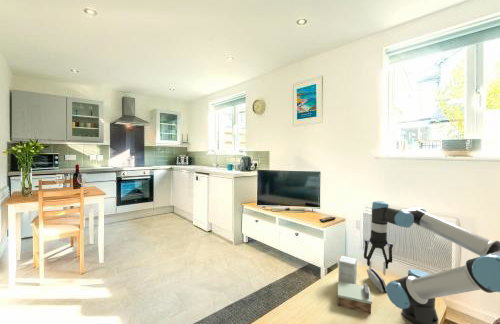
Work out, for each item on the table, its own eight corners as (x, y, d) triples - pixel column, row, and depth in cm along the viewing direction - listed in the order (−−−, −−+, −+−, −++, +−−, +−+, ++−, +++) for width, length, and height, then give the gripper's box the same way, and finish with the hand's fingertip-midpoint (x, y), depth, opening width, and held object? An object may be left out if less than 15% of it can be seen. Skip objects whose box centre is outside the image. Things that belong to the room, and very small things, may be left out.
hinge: (390, 292, 145) (385, 277, 144) (382, 295, 145) (378, 279, 145) (376, 277, 162) (371, 264, 161) (369, 280, 162) (364, 266, 161)
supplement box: (356, 284, 153) (357, 258, 152) (354, 292, 145) (355, 264, 144) (340, 280, 158) (341, 254, 157) (337, 287, 150) (338, 260, 149)
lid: (368, 289, 139) (369, 281, 139) (371, 304, 125) (372, 296, 125) (337, 283, 145) (338, 276, 145) (337, 296, 131) (338, 289, 131)
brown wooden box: (367, 298, 139) (368, 289, 139) (370, 313, 126) (371, 304, 126) (338, 292, 145) (338, 283, 144) (338, 306, 132) (338, 297, 131)
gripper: (397, 230, 130) (395, 272, 131) (358, 226, 136) (357, 266, 137) (401, 235, 123) (398, 279, 124) (359, 230, 129) (358, 272, 130)
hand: (376, 272), depth 131 cm, fingers open, 6 cm apart
